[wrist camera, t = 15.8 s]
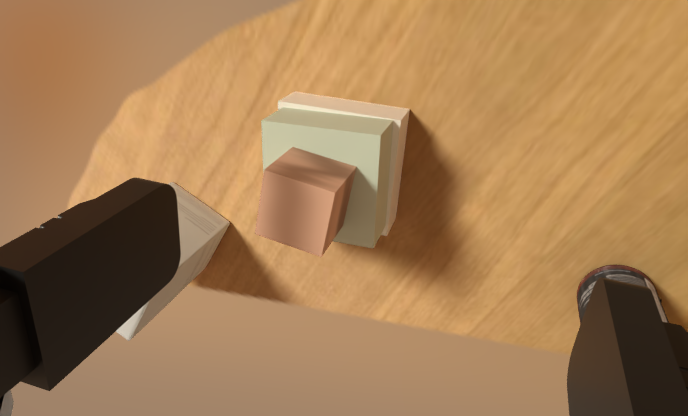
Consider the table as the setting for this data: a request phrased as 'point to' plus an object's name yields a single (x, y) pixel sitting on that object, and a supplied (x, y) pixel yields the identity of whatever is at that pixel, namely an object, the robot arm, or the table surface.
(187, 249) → the supplement box
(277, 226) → the terracotta cube
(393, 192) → the tower base
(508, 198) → the table surface
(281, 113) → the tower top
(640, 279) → the supplement bottle
